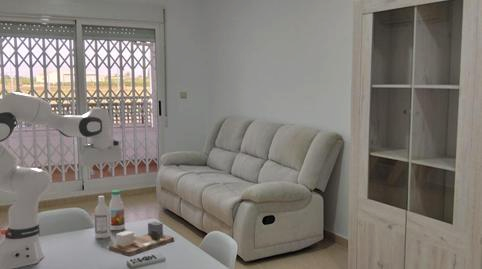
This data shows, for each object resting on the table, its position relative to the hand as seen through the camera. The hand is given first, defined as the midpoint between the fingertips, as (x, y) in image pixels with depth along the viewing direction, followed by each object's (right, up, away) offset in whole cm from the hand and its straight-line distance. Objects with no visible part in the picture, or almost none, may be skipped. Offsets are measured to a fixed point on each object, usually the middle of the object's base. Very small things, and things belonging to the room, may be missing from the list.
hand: (101, 173), depth 211 cm
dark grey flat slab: (+24, -31, +3) cm, 40 cm away
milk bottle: (0, -31, +26) cm, 41 cm away
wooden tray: (+18, -33, +1) cm, 38 cm away
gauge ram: (+13, -32, -3) cm, 34 cm away
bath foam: (-4, -32, +14) cm, 35 cm away
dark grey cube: (+23, -31, +11) cm, 39 cm away
